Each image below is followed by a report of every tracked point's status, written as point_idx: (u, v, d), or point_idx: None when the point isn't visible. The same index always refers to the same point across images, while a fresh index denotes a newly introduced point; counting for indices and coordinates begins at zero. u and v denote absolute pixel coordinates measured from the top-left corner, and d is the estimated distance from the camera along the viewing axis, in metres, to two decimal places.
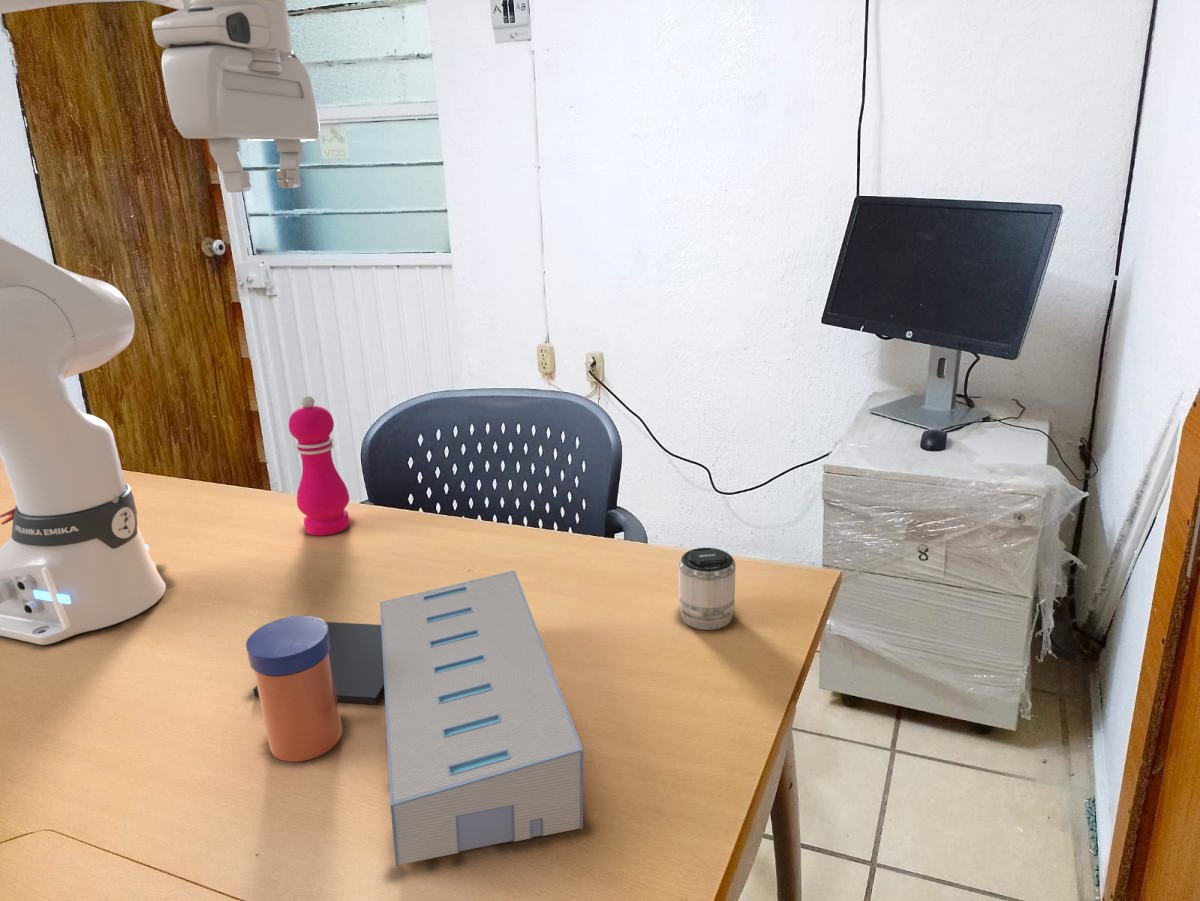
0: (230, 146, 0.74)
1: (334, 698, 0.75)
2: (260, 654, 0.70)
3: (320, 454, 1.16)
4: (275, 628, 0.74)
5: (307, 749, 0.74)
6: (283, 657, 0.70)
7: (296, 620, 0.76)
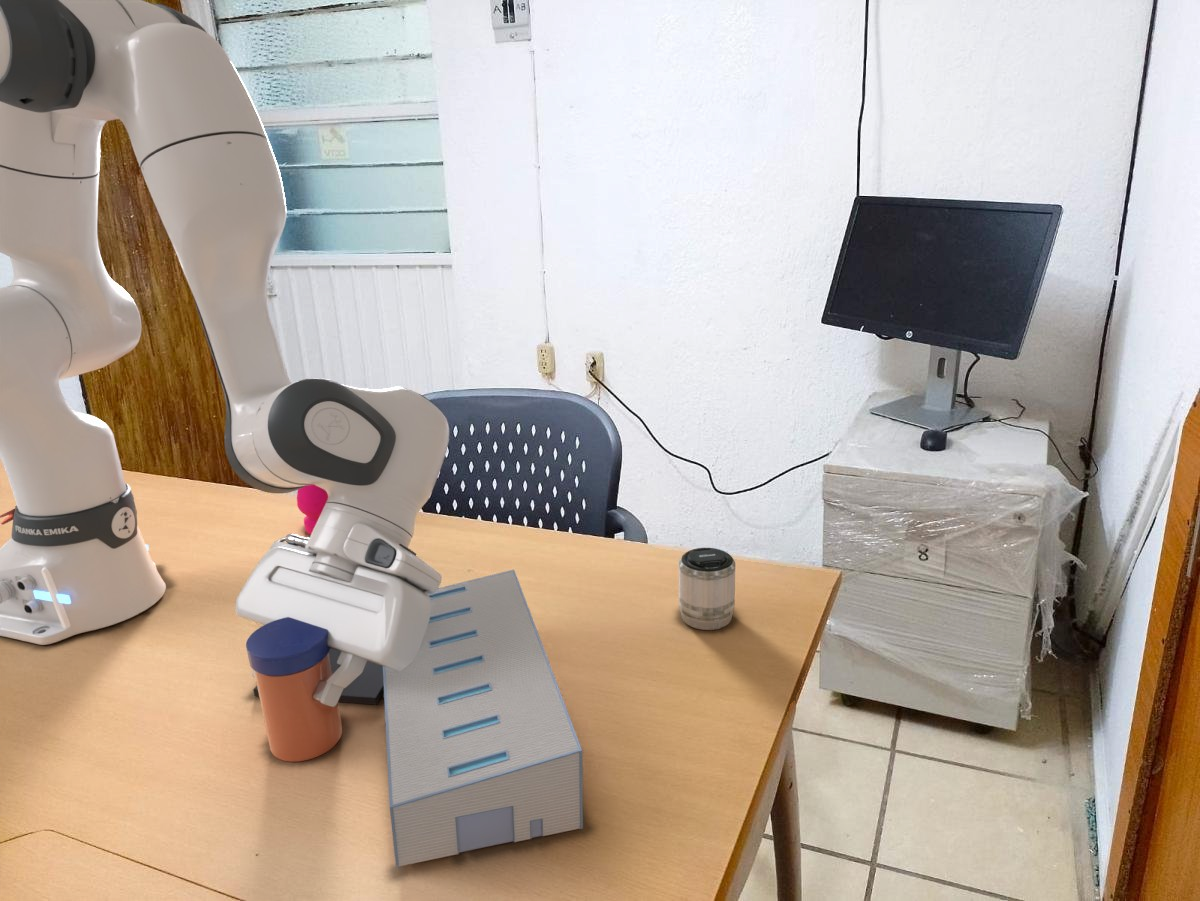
0: (363, 667, 0.74)
1: None
2: (260, 654, 0.70)
3: None
4: (275, 628, 0.74)
5: (307, 749, 0.74)
6: (283, 657, 0.70)
7: (296, 620, 0.76)
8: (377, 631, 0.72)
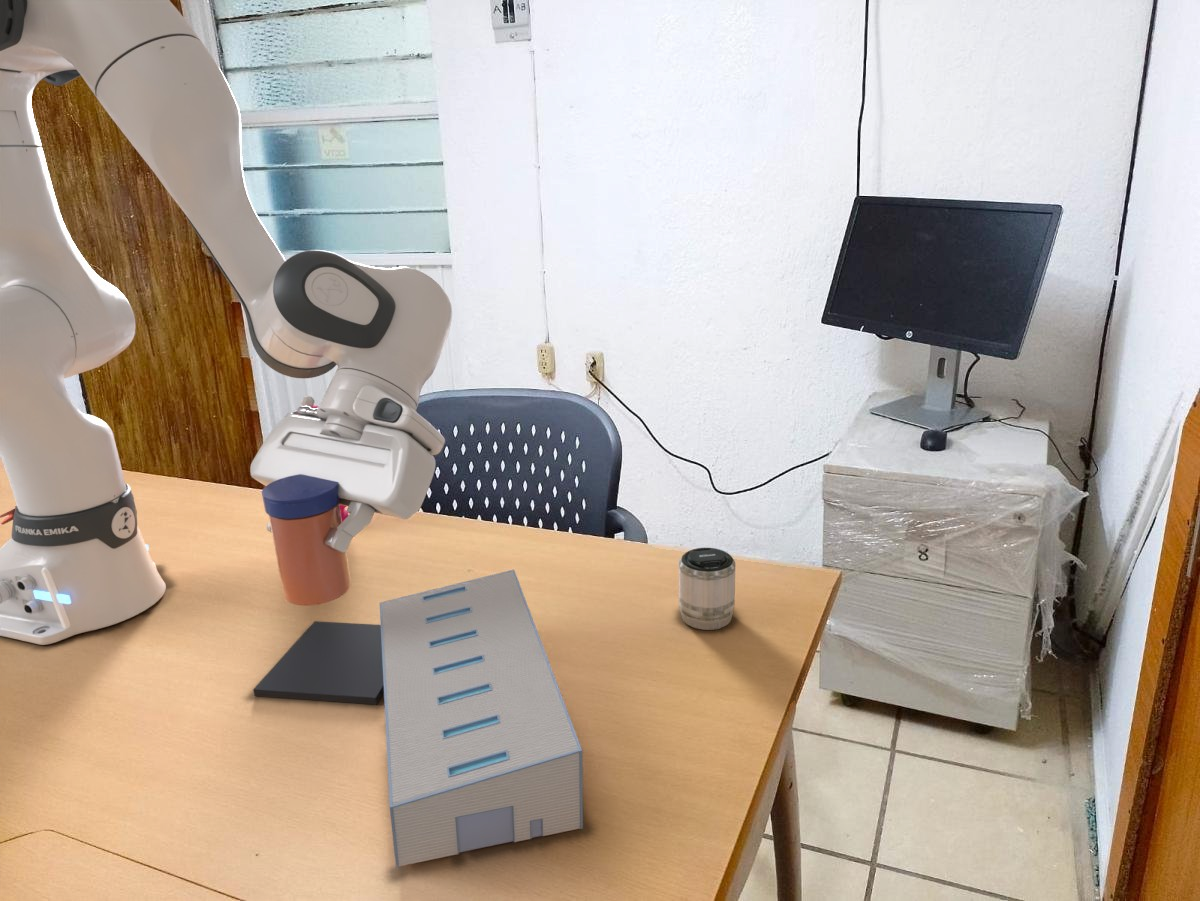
0: (371, 518, 0.79)
1: None
2: (275, 498, 0.75)
3: None
4: (288, 481, 0.79)
5: (318, 593, 0.79)
6: (297, 500, 0.75)
7: (308, 476, 0.80)
8: (384, 479, 0.77)
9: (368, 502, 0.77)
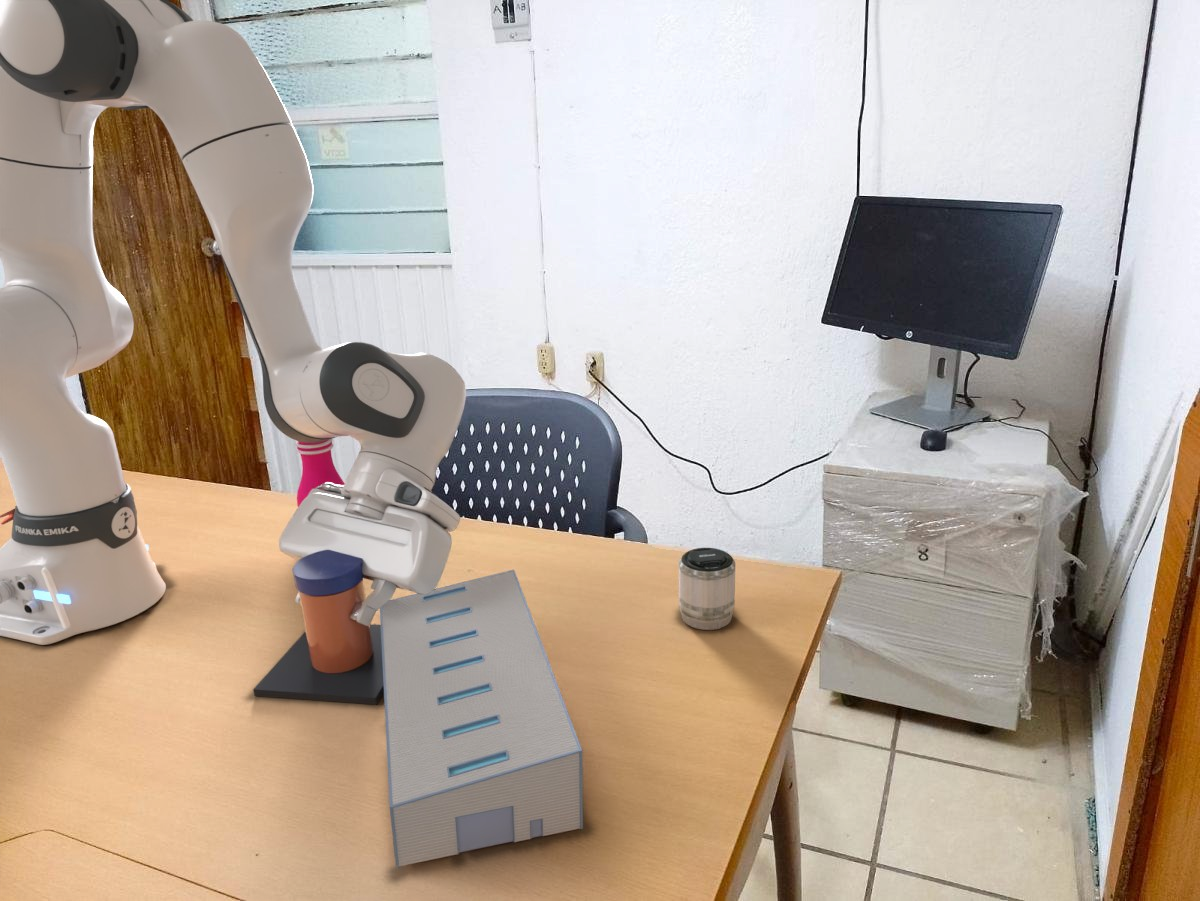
0: (393, 593, 0.85)
1: None
2: (305, 577, 0.82)
3: (320, 454, 1.16)
4: (316, 558, 0.86)
5: (344, 662, 0.85)
6: (325, 579, 0.81)
7: (334, 552, 0.87)
8: (405, 559, 0.83)
9: (390, 580, 0.83)
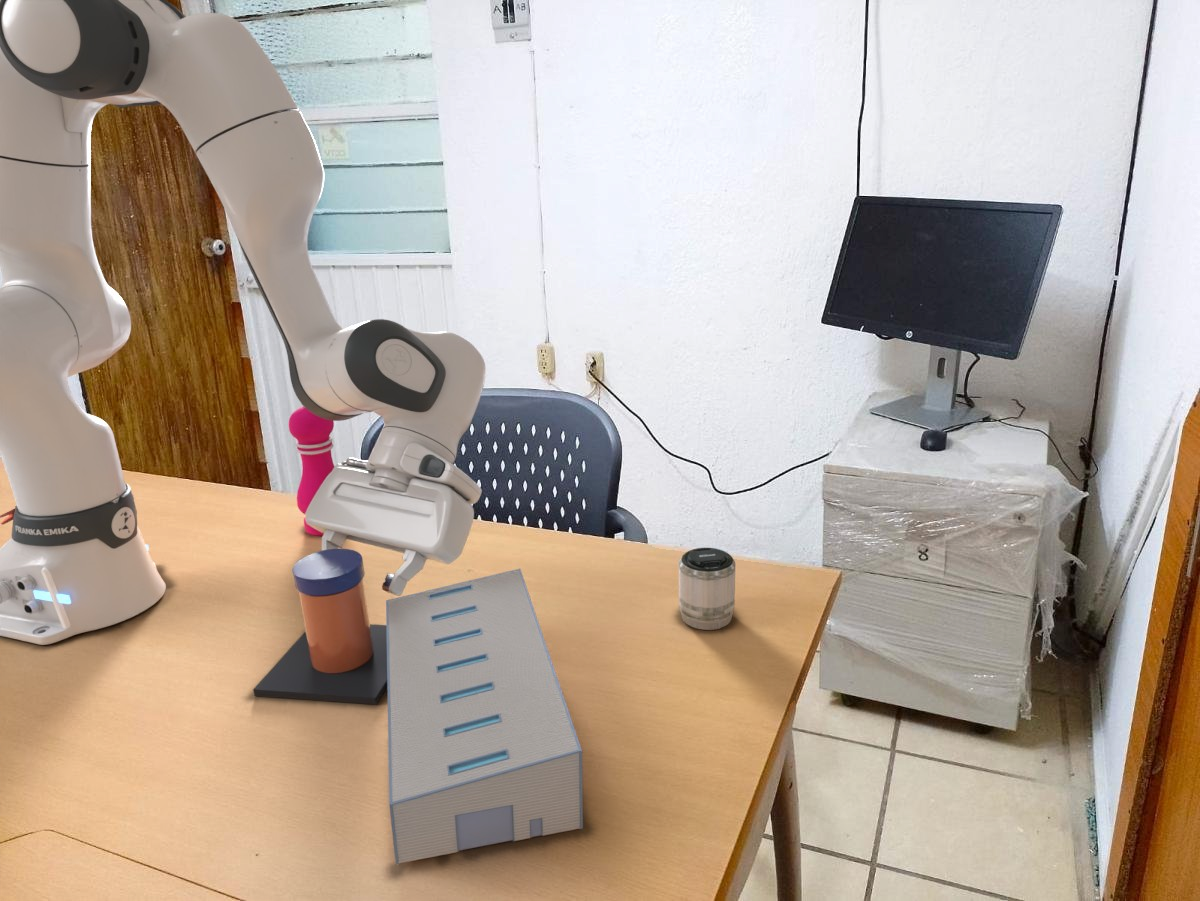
0: (423, 564, 0.88)
1: (367, 620, 0.87)
2: (305, 577, 0.82)
3: (320, 454, 1.16)
4: (316, 558, 0.86)
5: (344, 662, 0.85)
6: (325, 579, 0.81)
7: (334, 552, 0.87)
8: (430, 529, 0.86)
9: (416, 549, 0.86)
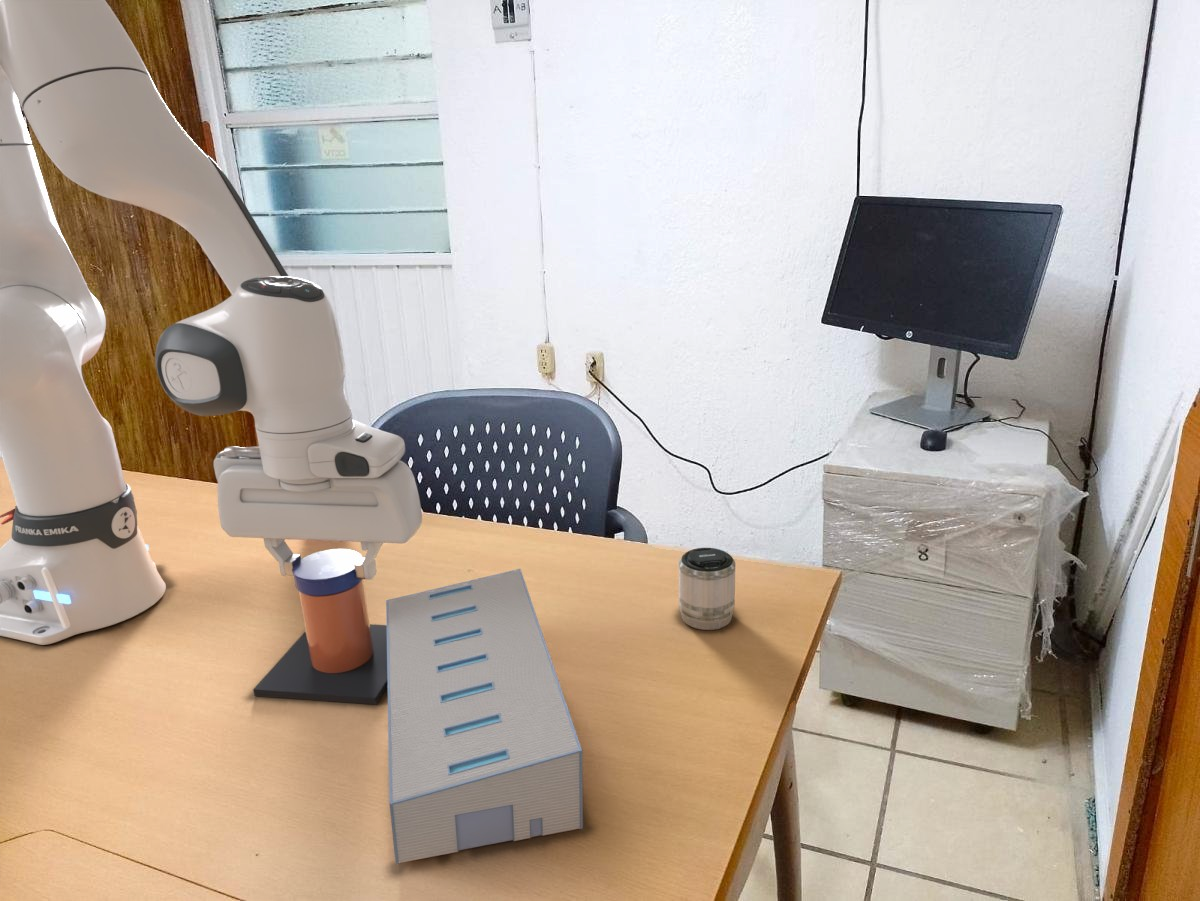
0: None
1: (367, 620, 0.87)
2: (305, 577, 0.82)
3: None
4: (316, 558, 0.86)
5: (344, 662, 0.85)
6: (325, 579, 0.81)
7: (334, 552, 0.87)
8: (385, 521, 0.79)
9: (381, 542, 0.81)
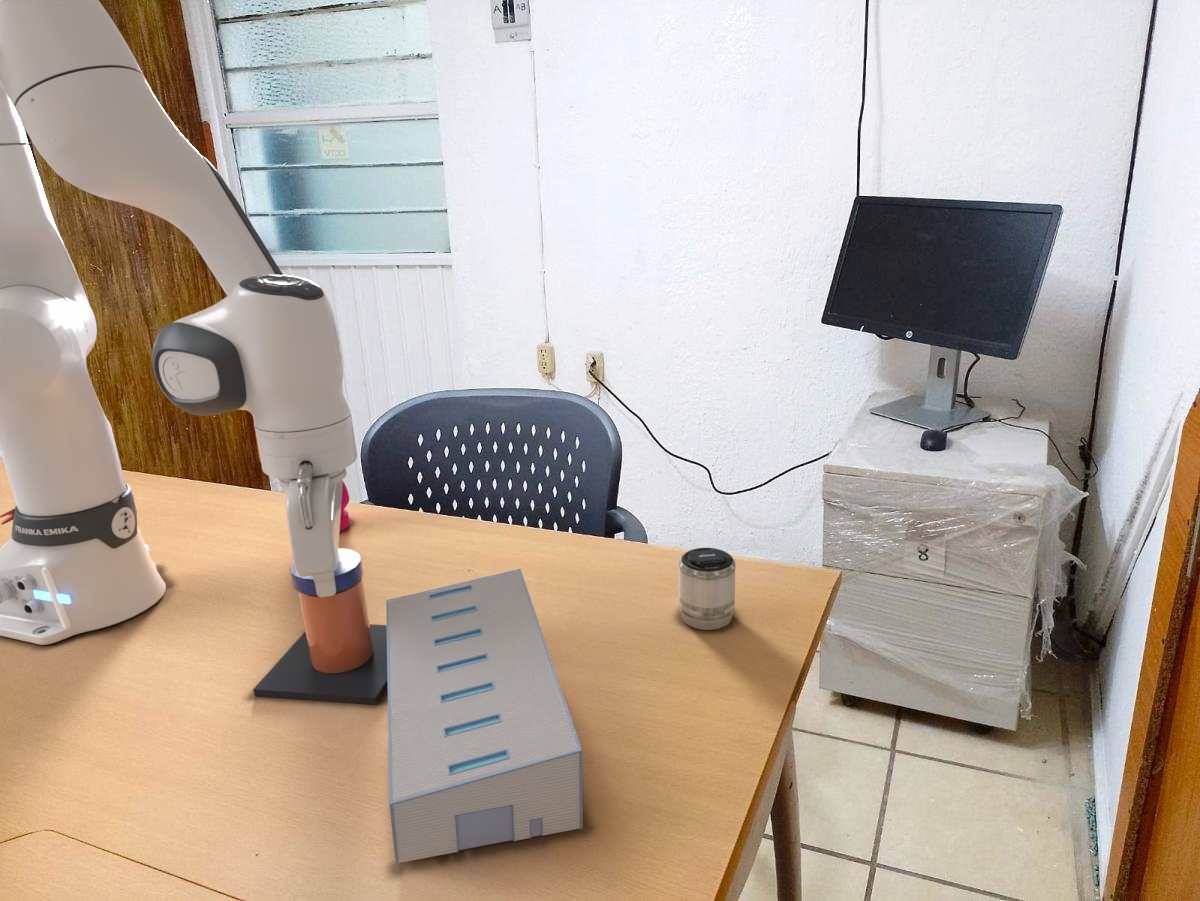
0: None
1: (367, 619, 0.87)
2: (356, 562, 0.84)
3: None
4: None
5: (344, 662, 0.85)
6: None
7: None
8: None
9: None
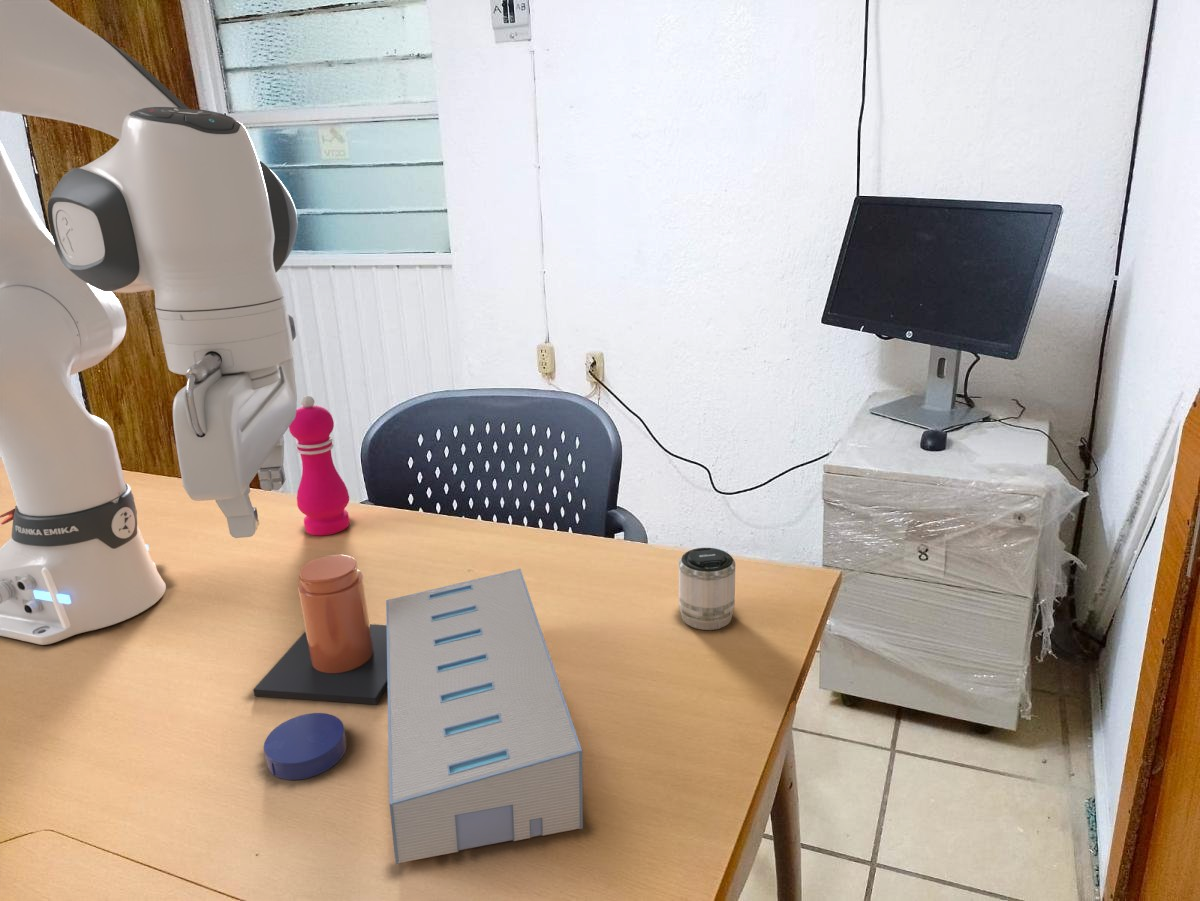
0: None
1: (367, 619, 0.87)
2: (318, 754, 0.72)
3: (320, 454, 1.16)
4: (280, 743, 0.73)
5: (344, 662, 0.85)
6: (339, 741, 0.74)
7: (282, 730, 0.75)
8: (289, 397, 0.72)
9: (288, 426, 0.72)
